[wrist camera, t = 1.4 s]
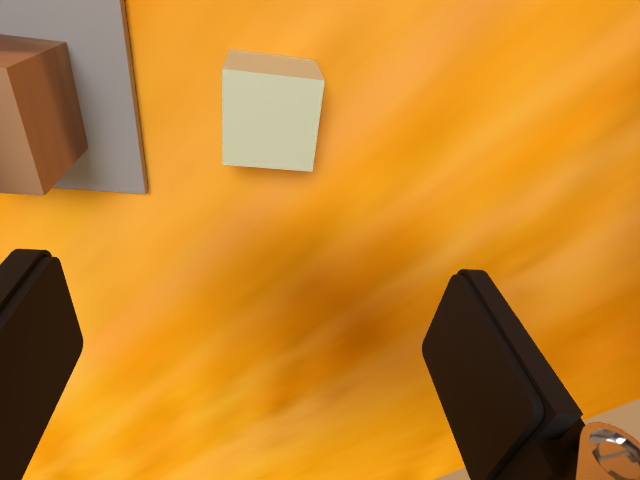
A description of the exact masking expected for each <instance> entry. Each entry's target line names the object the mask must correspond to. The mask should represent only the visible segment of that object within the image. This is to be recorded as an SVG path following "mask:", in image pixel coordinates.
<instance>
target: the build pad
mask: <svg viewBox="0 0 640 480" xmlns="http://www.w3.org/2000/svg"><path fill="white" fill-rule="evenodd" d="M0 34H3V35H11V36H20V37H28V38H37V39H45V40H53V41H62V42H66V43H67V48H68V53H69V58H70V63H71V67H72V72H73V77H74V82H75V86H76V91H77V96H78V101H79V105H80V110H81V115H82V120H83V124H84V129H85V134H86V139H87V144H88V149H87V150H86V151H85V152H84V153H83V154H82V155H81V157H80V158H79V159H78V160H77V161H76V162H75V163H74V164H73V165H72V166H71V167H70V168H69V169H68V170H67V172H66V173H65V174H64V175H63V176H62V177H61V178H60V179H59V180H58V181H57V182H56V183H55V184H54V185H53V187H52V188H63V189H78V190H94V191H109V192H125V193H141V194H145V193H146V191H147V189H148V183H147V175H146V167H145V160H144V152H143V144H142V136H141V128H140V120H139V112H138V104H137V97H136V89H135V81H134V73H133V65H132V57H131V49H130V41H129V34H128V26H127V18H126V10H125V2H124V0H0Z"/></svg>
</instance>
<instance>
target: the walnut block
mask: <svg viewBox="0 0 640 480" xmlns="http://www.w3.org/2000/svg"><path fill="white" fill-rule="evenodd" d="M87 149H88V144H87V139H86V134H85V129H84V124H83V120H82V115H81V110H80V105H79V101H78V96H77V91H76V86H75V82H74V77H73V72H72V67H71V63H70V58H69V53H68V48H67V43H66V42H62V41H53V40H45V39H37V38H28V37H20V36H11V35H3V34H0V193H12V194H28V195H45V194H46V193H47V192H48V191H49V190H50V189H51V188H52V187H53V185H54V184H55V183H56V182H57V181H58V180H59V179H60V178H61V177H62V176H63V175H64V174H65V173H66V172H67V170H68V169H69V168H70V167H71V166H72V165H73V164H74V163H75V162H76V161H77V160H78V159H79V158H80V157H81V155H82V154H83V153H84V152H85V151H86V150H87Z"/></svg>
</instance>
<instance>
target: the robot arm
mask: <svg viewBox="0 0 640 480" xmlns="http://www.w3.org/2000/svg"><path fill="white" fill-rule="evenodd" d="M82 348H83V337H82V333H81V330H80V327H79V323H78V320H77V317H76V313H75V310H74V306H73V303H72V300H71V296H70V293H69V290H68V286H67V283H66V280H65V276H64V273H63V269H62V266H61V263H60V260H59V259H58V258H57V257H52V255H51V253H50V252H49V251H47V250H33V249H16V250H14V251H12V252H11V253H10V254H9V256H8V257H7V258H6V259H5V260H4V261H3V262H2V264H1V265H0V480H22V477H23V475H24V473H25V471H26V469H27V467H28V465H29V463H30V460H31V458H32V456H33V454H34V452H35V450H36V448H37V446H38V444H39V441H40V439H41V437H42V435H43V433H44V431H45V429H46V427H47V424H48V422H49V420H50V418H51V416H52V414H53V412H54V410H55V408H56V405H57V403H58V401H59V399H60V397H61V395H62V393H63V391H64V388H65V386H66V384H67V382H68V380H69V378H70V376H71V374H72V371H73V369H74V367H75V365H76V363H77V361H78V359H79V357H80V354H81V352H82ZM422 353H423V357H424V360H425V362H426V365H427V367H428V370H429V373H430V375H431V378H432V380H433V383H434V386H435V388H436V391H437V394H438V396H439V399H440V401H441V404H442V407H443V409H444V412H445V414H446V417H447V420H448V422H449V425H450V427H451V430H452V433H453V435H454V438H455V441H456V443H457V446H458V448H459V451H460V454H461V456H462V459H463V461H464V464H465V467H466V469H467V472H468V474H469V477H470V479H471V480H640V443H639V442H638V441H637V440H636V439H635V438H634V437H632V436H631V435H629V434H628V433H626V432H625V431H623V430H621V429H619V428H617V427H615V426H612V425H610V424H606V423H601V422H594V423H589V424H587V425H585V424H584V422H583V421H582V419H581V418H580V417H581V416H582V415H583V413H582V412H581V410H580V409H579V407H578V406H577V404H576V403H575V401H574V400H573V398H572V397H571V396H570V394H569V393H568V391H567V390H566V388H565V387H564V385H563V384H562V382H561V381H560V379H559V378H558V377H557V375H556V374H555V372H554V371H553V369H552V368H551V366H550V365H549V363H548V362H547V360H546V359H545V357H544V356H543V355H542V353H541V352H540V350H539V349H538V347H537V346H536V344H535V343H534V341H533V340H532V338H531V337H530V335H529V334H528V333H527V331H526V330H525V328H524V327H523V325H522V324H521V322H520V321H519V319H518V318H517V316H516V315H515V314H514V312H513V311H512V309H511V308H510V306H509V305H508V303H507V302H506V300H505V299H504V297H503V296H502V294H501V293H500V292H499V290H498V289H497V287H496V286H495V284H494V283H493V281H492V280H491V278H490V277H489V275H488V274H487V273H486V272H485V271H483V270H468V269H462V270H460V271H458V273H457V275H456V274H455V275H453V276H452V277H451V279H450V281H449V283H448V285H447V288H446V290H445V292H444V295H443V297H442V299H441V302H440V304H439V306H438V309H437V311H436V313H435V315H434V318H433V320H432V322H431V325H430V327H429V329H428V332H427V334H426V336H425V339H424V341H423V344H422Z"/></svg>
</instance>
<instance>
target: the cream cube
mask: <svg viewBox="0 0 640 480" xmlns="http://www.w3.org/2000/svg"><path fill="white" fill-rule="evenodd" d="M324 83H325V80H324V78H323V76H322V73H321V71H320V69H319V67H318V64H317V62H316V60H314V59H306V58H298V57H290V56H282V55H274V54H266V53H258V52H250V51H242V50H234V49H230V51H229V53H228V56H227V58H226V60H225V63H224V65H223V68H222V132H223V165H232V166H245V167H258V168H271V169H284V170H297V171H310V172H312V171H313V164H314V157H315V149H316V142H317V134H318V127H319V120H320V112H321V105H322V98H323V90H324Z"/></svg>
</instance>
